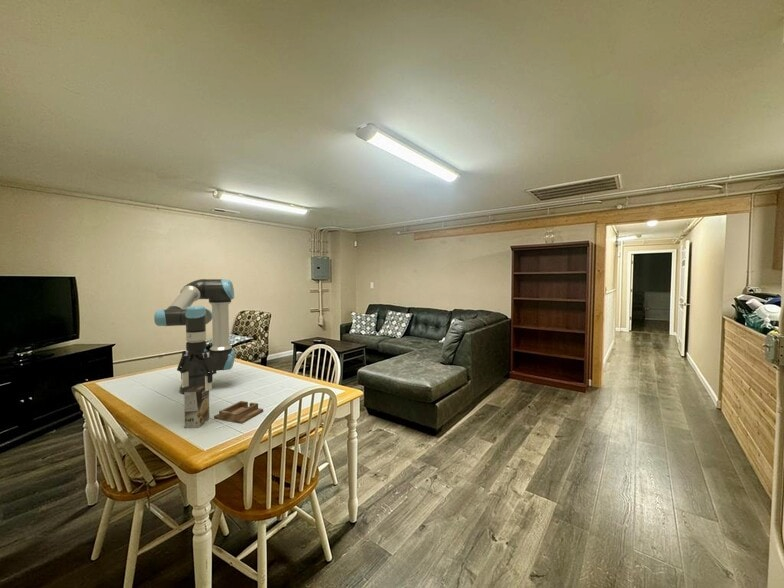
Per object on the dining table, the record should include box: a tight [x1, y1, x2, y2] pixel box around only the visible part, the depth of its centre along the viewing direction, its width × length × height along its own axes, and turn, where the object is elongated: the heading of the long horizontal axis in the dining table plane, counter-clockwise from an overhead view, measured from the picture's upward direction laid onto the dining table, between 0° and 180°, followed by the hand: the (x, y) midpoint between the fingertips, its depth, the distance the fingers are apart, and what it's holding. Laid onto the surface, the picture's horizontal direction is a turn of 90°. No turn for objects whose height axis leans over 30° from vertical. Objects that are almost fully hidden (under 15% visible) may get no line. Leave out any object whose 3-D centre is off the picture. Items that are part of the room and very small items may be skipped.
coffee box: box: [183, 385, 210, 429], centre depth 140 cm, size 9×6×16 cm
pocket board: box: [213, 400, 264, 425], centre depth 150 cm, size 16×14×4 cm
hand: (196, 388), depth 140 cm, fingers open, 13 cm apart
